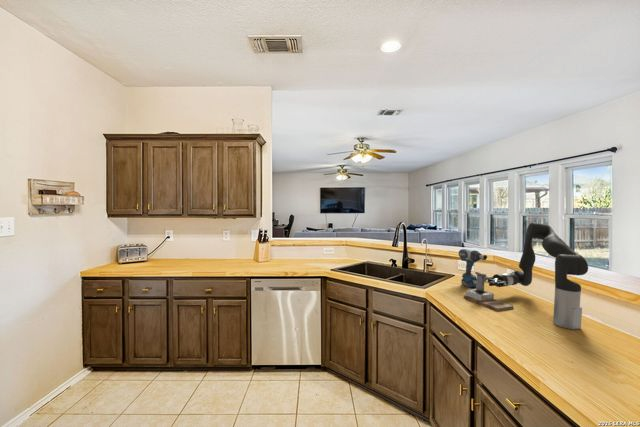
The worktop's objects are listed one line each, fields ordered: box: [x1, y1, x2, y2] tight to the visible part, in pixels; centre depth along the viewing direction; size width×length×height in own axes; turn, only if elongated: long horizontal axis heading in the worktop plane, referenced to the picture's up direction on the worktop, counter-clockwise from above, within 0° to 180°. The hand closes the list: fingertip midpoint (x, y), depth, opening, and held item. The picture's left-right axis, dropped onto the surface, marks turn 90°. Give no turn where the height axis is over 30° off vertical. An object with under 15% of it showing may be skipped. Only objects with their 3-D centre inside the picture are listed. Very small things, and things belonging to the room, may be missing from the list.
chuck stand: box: [462, 288, 515, 312], centre depth 166 cm, size 22×12×5 cm, turn 21°
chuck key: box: [474, 271, 487, 294], centre depth 171 cm, size 7×4×14 cm, turn 21°
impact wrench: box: [458, 248, 488, 289], centre depth 199 cm, size 8×22×25 cm, turn 15°
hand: (483, 282), depth 171 cm, fingers open, 8 cm apart
